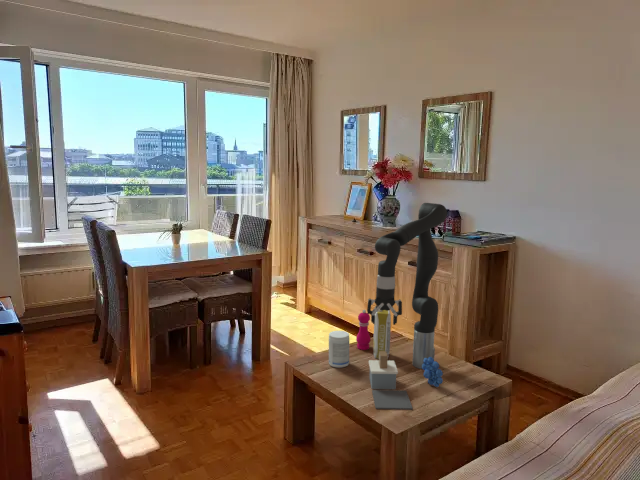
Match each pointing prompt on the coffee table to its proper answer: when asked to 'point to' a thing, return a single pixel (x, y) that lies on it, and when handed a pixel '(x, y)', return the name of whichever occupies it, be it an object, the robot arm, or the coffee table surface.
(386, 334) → the juice carton
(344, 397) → the coffee table surface
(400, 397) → the rubber mat
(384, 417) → the coffee table surface
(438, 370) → the grapes
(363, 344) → the pepper mill
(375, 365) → the lid
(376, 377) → the storage box
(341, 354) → the supplement tub
